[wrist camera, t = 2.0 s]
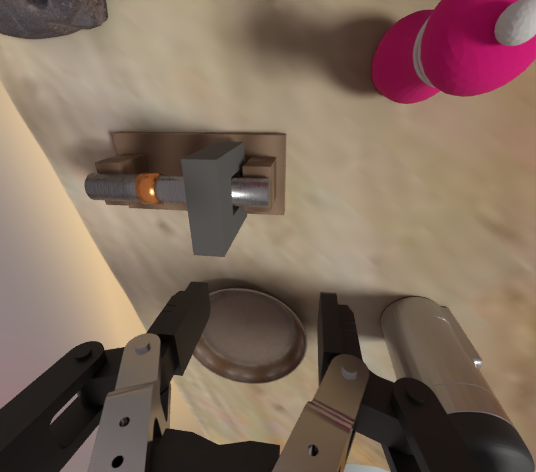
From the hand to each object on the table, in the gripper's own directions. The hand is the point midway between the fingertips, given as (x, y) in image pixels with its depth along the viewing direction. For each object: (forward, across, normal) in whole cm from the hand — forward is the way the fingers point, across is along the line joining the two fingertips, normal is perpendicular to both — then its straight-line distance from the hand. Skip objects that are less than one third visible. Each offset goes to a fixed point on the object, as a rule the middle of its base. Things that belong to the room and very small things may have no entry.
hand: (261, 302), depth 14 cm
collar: (+22, +7, 0) cm, 23 cm away
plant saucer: (+26, +7, +27) cm, 38 cm away
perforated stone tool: (+26, +26, -18) cm, 41 cm away
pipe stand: (+25, +12, 0) cm, 28 cm away
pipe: (+19, +12, 0) cm, 23 cm away
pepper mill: (+26, -11, -12) cm, 30 cm away
